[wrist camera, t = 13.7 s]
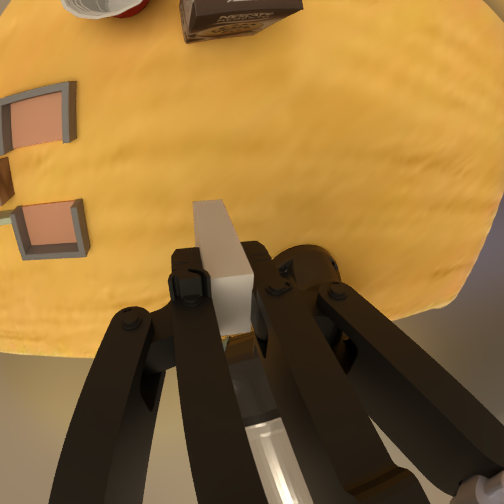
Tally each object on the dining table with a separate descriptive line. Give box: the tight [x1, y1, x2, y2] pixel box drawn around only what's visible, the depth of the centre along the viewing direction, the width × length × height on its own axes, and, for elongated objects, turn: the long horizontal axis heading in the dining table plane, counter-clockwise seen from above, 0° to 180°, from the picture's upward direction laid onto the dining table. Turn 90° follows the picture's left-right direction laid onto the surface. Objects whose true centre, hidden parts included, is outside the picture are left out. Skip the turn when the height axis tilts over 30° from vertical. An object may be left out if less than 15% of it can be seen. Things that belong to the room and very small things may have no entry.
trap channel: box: [0, 81, 90, 260], centre depth 29 cm, size 25×22×3 cm
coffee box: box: [179, 0, 303, 44], centre depth 21 cm, size 9×6×16 cm
